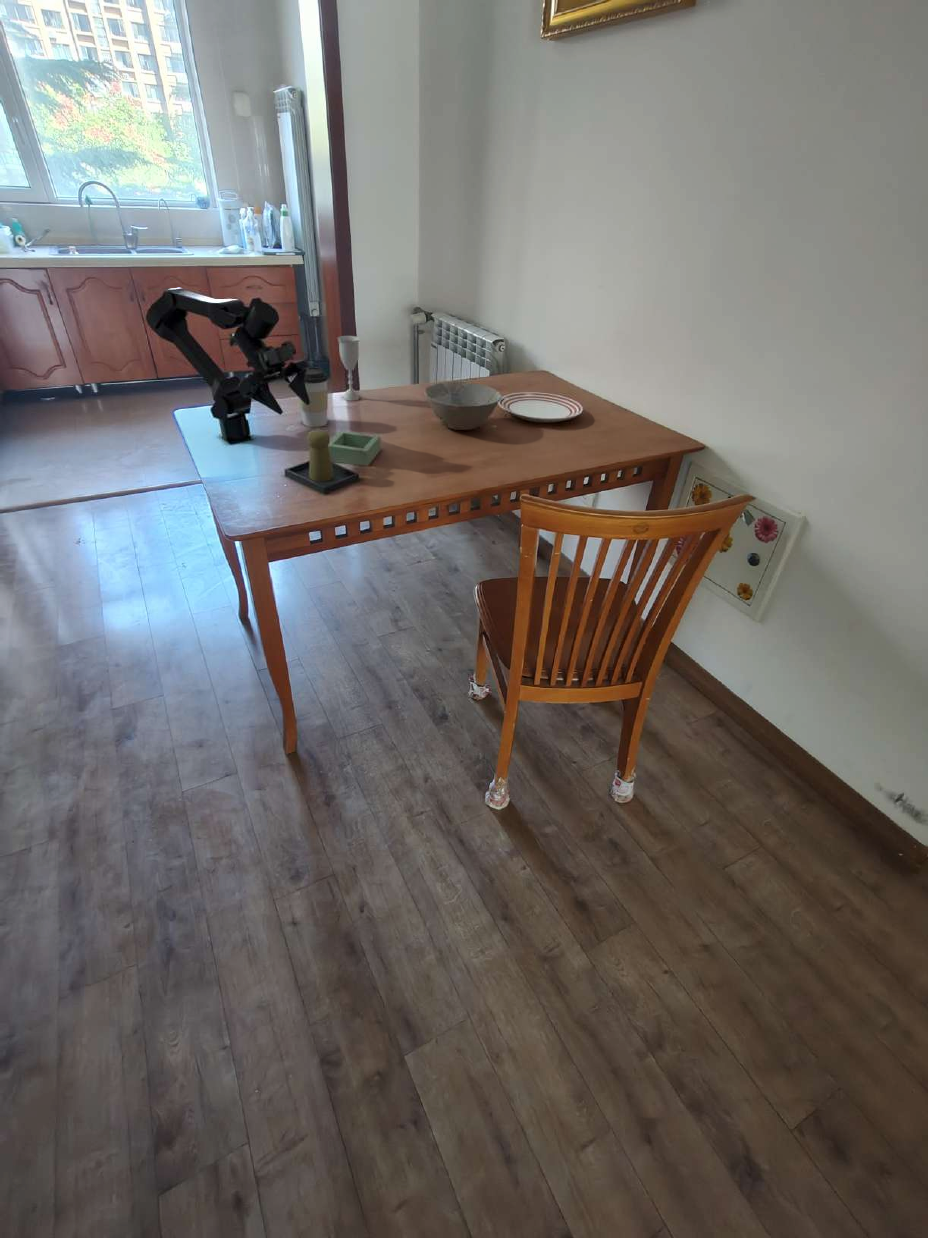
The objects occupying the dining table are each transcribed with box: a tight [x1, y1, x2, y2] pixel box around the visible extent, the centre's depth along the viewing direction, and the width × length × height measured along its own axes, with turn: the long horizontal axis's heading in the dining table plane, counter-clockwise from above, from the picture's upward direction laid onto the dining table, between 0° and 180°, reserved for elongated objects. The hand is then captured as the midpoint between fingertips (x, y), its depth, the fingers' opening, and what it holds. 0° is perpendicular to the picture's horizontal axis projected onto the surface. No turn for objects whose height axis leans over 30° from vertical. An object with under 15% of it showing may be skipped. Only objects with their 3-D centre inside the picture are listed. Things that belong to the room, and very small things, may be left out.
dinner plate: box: [497, 391, 584, 424], centre depth 192 cm, size 27×27×3 cm
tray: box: [284, 459, 360, 495], centre depth 144 cm, size 14×11×2 cm
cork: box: [306, 429, 334, 481], centre depth 141 cm, size 6×6×11 cm
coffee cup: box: [297, 366, 329, 428], centre depth 169 cm, size 9×9×15 cm
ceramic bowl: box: [423, 381, 503, 431], centre depth 176 cm, size 22×23×10 cm
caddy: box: [328, 429, 381, 467], centre depth 155 cm, size 11×11×4 cm
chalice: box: [337, 335, 360, 402], centre depth 187 cm, size 7×7×18 cm
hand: (295, 408), depth 143 cm, fingers open, 9 cm apart
